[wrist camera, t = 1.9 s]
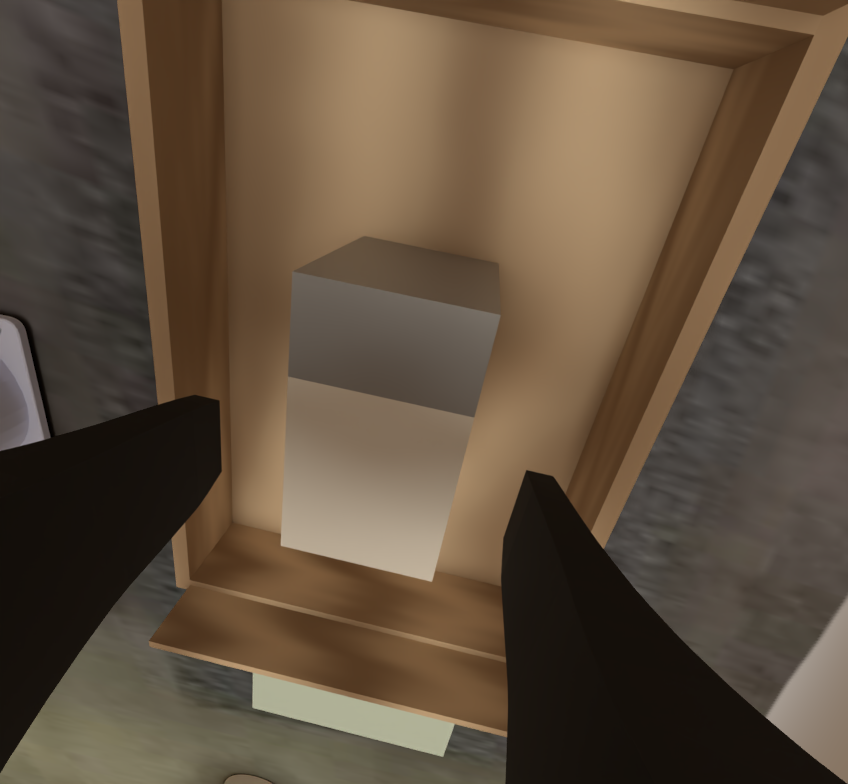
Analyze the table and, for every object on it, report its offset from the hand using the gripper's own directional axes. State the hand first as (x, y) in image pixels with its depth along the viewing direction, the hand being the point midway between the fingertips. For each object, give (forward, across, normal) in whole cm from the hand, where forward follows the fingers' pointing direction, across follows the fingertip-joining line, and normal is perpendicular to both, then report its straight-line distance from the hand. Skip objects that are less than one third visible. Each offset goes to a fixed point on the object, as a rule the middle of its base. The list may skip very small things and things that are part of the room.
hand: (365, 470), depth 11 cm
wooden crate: (+8, 0, 0) cm, 8 cm away
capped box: (+7, 0, 0) cm, 7 cm away
